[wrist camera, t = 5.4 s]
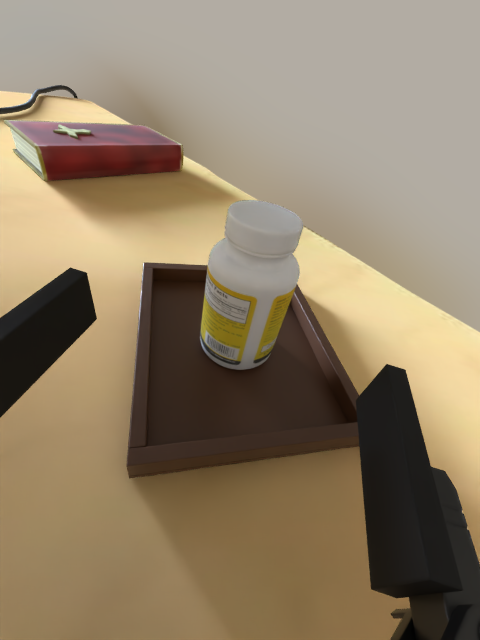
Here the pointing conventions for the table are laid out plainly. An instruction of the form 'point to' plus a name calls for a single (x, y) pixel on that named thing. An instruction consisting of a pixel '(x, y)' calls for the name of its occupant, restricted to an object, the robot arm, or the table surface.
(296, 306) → the tray
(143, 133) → the hardcover book
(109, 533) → the table surface
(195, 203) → the table surface
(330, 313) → the table surface
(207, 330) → the supplement bottle
